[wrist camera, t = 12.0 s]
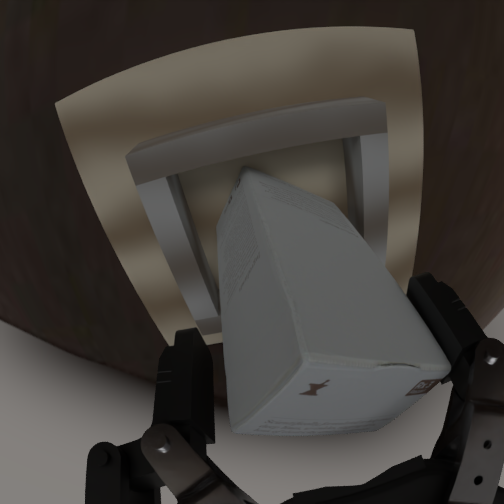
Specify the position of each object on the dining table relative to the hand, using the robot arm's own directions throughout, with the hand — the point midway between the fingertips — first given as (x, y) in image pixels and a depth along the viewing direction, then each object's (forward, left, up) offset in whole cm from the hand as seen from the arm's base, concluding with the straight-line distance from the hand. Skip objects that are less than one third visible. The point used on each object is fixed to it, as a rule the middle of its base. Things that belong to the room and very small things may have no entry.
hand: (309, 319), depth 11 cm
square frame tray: (0, 0, -9) cm, 9 cm away
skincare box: (0, 0, -8) cm, 8 cm away
